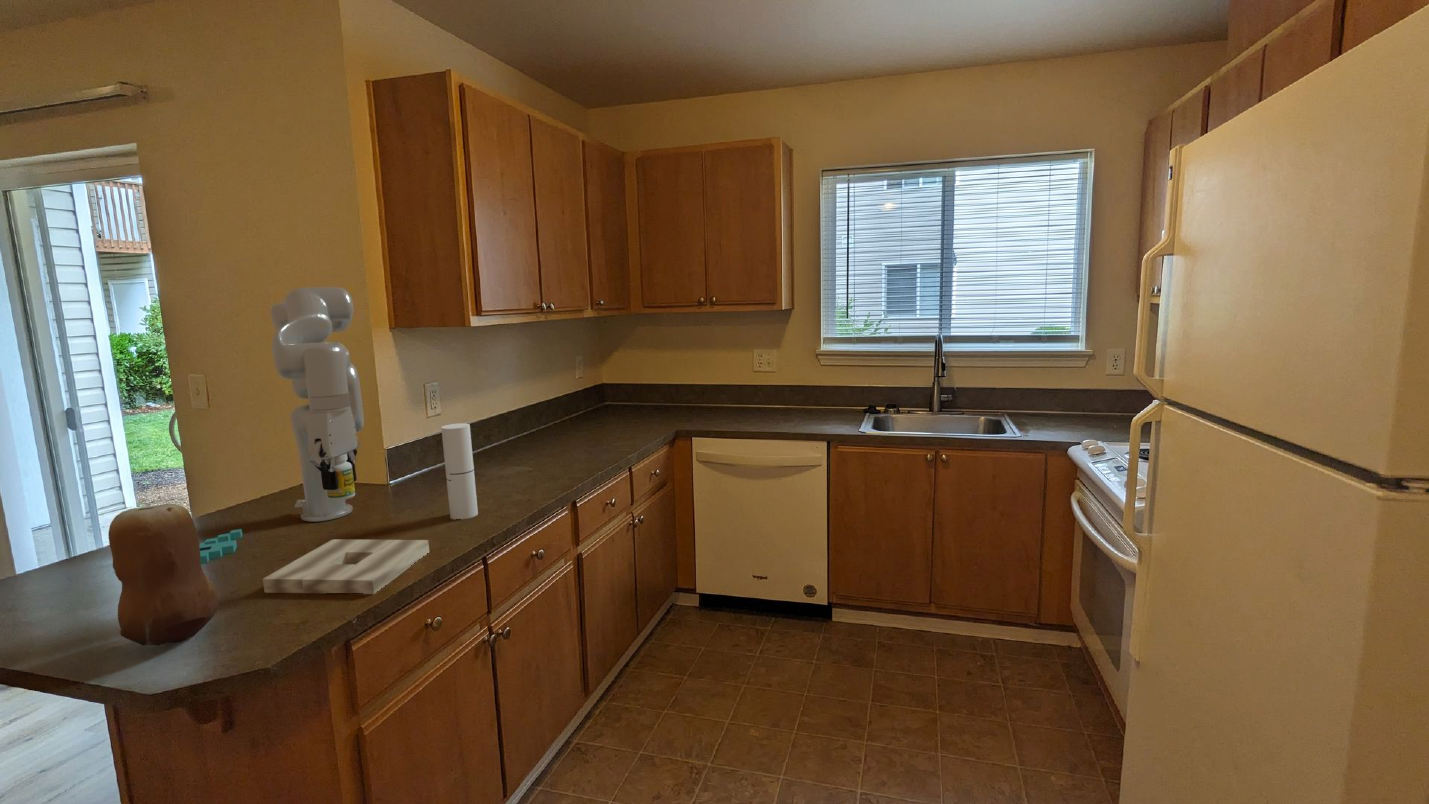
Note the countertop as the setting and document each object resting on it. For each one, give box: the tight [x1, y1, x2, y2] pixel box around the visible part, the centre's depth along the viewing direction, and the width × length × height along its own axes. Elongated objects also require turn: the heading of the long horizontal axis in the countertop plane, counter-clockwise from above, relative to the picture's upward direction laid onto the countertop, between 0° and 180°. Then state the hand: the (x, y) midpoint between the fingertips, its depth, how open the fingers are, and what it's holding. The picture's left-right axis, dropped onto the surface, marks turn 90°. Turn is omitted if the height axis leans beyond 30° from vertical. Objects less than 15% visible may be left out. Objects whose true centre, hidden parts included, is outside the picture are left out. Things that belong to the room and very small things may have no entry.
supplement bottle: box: [326, 453, 356, 501], centre depth 145 cm, size 5×5×10 cm
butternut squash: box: [108, 503, 219, 646], centre depth 118 cm, size 14×13×25 cm
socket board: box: [262, 538, 430, 595], centre depth 148 cm, size 24×22×3 cm
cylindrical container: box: [440, 422, 479, 520], centre depth 181 cm, size 7×7×25 cm
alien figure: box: [199, 528, 244, 565], centre depth 160 cm, size 20×2×20 cm
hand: (340, 484), depth 145 cm, fingers closed on supplement bottle, 5 cm apart
